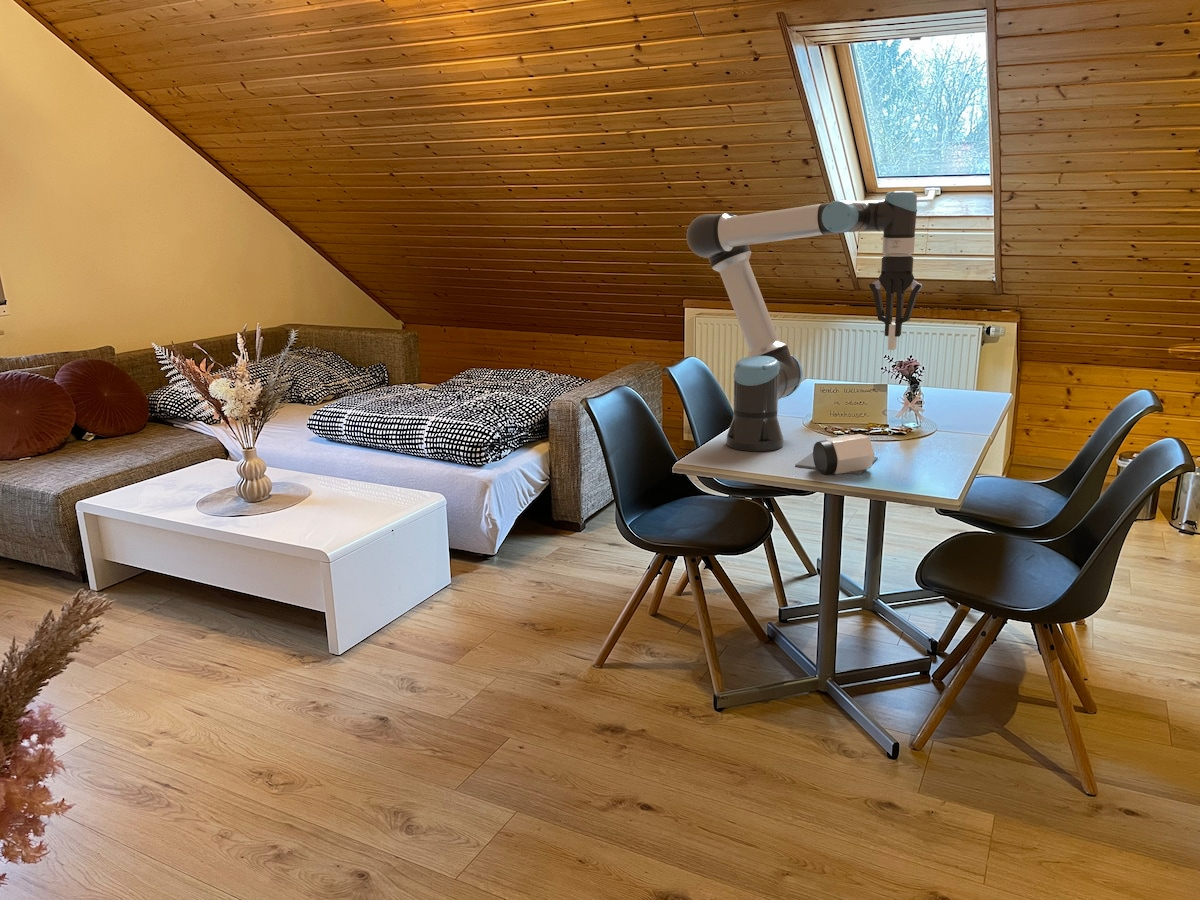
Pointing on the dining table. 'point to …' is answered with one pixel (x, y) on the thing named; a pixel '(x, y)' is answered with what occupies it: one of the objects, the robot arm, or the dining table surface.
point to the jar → (843, 454)
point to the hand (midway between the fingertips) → (891, 349)
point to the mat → (809, 463)
